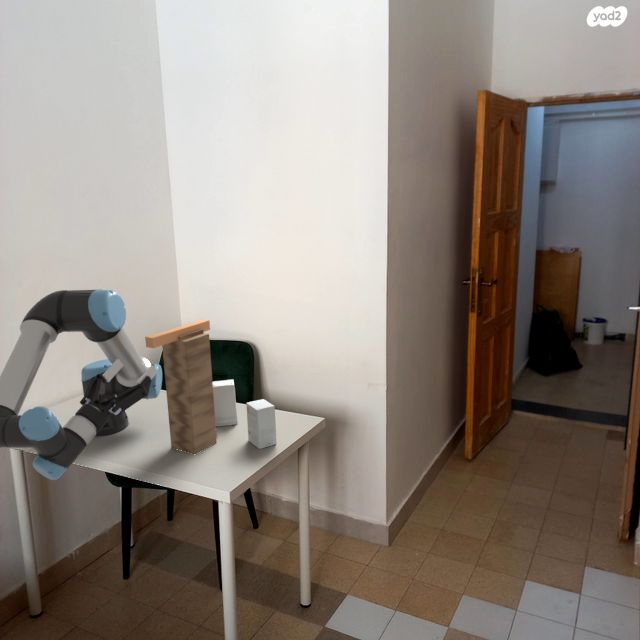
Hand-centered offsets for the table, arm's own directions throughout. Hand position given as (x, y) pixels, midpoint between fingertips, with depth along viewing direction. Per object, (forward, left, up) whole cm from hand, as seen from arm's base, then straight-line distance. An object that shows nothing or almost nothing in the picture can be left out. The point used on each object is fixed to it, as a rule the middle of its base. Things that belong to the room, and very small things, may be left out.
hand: (137, 365), depth 166 cm
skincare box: (-3, +39, -32) cm, 51 cm away
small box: (+18, +32, -32) cm, 49 cm away
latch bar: (0, +17, +4) cm, 18 cm away
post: (0, +20, -32) cm, 38 cm away
